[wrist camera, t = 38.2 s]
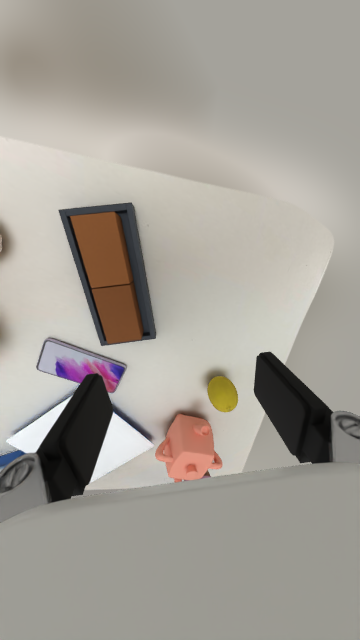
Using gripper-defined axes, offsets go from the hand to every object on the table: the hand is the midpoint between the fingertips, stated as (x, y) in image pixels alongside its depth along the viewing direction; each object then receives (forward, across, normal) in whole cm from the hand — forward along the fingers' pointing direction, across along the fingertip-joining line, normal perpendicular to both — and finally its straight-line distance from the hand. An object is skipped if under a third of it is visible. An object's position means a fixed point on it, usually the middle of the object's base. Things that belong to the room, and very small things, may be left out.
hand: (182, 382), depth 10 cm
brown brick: (+20, +9, +1) cm, 22 cm away
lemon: (+21, -8, +19) cm, 30 cm away
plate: (+21, +23, +30) cm, 44 cm away
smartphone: (+21, +19, +12) cm, 30 cm away
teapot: (+21, 0, +32) cm, 39 cm away
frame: (+21, +9, -4) cm, 23 cm away
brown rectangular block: (+21, +9, -8) cm, 24 cm away
